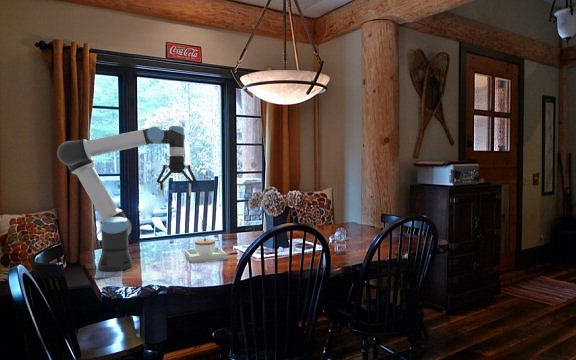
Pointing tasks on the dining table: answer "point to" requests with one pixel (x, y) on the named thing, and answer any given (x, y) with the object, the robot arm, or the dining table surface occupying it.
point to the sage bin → (216, 255)
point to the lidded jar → (205, 246)
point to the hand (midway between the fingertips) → (176, 196)
